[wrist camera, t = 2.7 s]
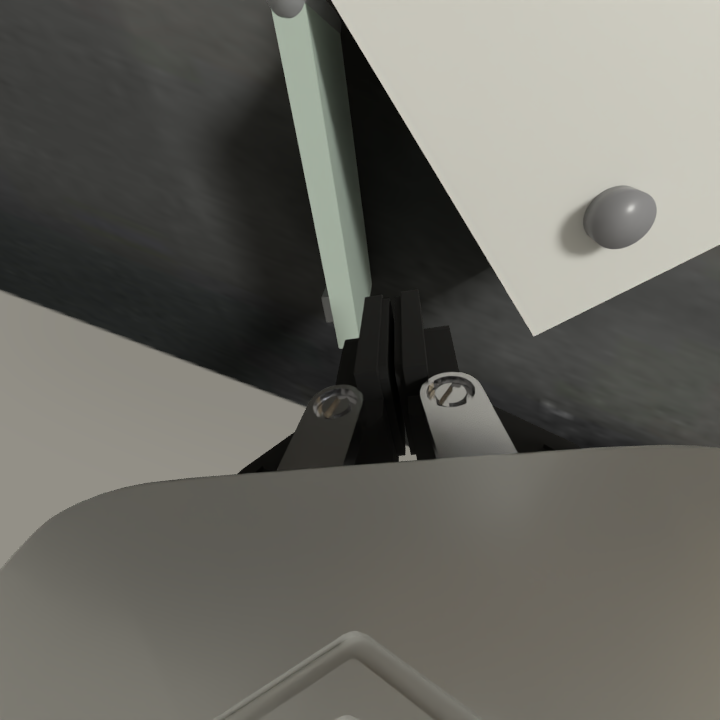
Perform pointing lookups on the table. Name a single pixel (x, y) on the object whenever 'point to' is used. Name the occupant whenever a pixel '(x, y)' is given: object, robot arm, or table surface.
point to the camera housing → (561, 133)
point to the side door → (326, 153)
